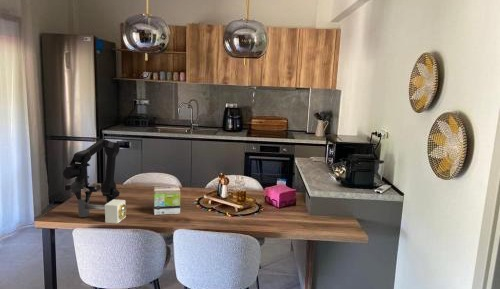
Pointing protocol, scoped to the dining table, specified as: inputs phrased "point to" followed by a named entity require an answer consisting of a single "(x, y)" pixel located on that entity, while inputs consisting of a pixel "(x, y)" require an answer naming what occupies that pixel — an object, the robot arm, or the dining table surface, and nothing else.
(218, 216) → the dining table surface
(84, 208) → the shaft
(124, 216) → the spacer
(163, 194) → the tea box
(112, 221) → the bearing block
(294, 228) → the dining table surface
